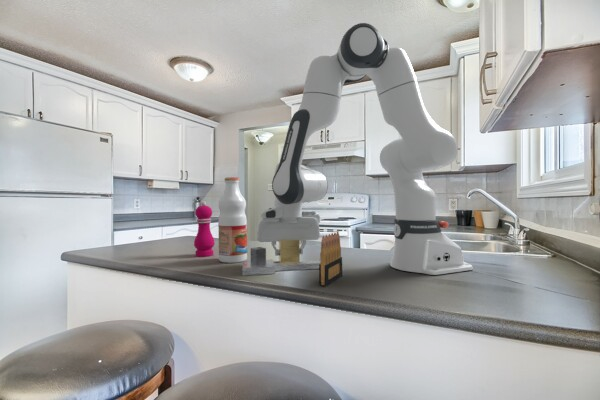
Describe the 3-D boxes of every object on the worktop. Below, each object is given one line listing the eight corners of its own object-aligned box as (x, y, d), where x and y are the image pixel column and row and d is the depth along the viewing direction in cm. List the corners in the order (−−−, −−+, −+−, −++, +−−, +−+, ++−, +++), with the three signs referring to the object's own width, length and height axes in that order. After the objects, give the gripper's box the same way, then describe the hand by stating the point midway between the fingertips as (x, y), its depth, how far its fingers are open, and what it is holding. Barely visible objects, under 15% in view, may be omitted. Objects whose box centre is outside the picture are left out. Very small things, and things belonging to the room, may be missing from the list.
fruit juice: (224, 257, 106) (222, 178, 105) (250, 257, 105) (249, 178, 105) (214, 263, 96) (213, 177, 96) (243, 263, 96) (242, 176, 95)
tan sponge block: (296, 260, 99) (296, 237, 99) (299, 264, 93) (299, 240, 93) (278, 261, 98) (278, 238, 98) (280, 265, 92) (280, 241, 92)
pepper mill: (197, 258, 105) (196, 201, 104) (191, 255, 110) (190, 201, 110) (217, 255, 109) (216, 201, 109) (210, 252, 115) (209, 200, 114)
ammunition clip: (325, 286, 70) (325, 236, 70) (318, 285, 71) (318, 235, 71) (342, 275, 79) (342, 231, 79) (336, 275, 80) (335, 231, 80)
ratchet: (328, 263, 94) (327, 242, 94) (336, 270, 85) (336, 247, 85) (243, 267, 90) (242, 246, 90) (242, 275, 81) (241, 251, 81)
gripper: (317, 210, 100) (318, 251, 100) (256, 212, 97) (257, 254, 97) (322, 211, 94) (322, 255, 94) (256, 213, 91) (257, 258, 91)
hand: (288, 254), depth 96 cm, fingers closed on tan sponge block, 6 cm apart
